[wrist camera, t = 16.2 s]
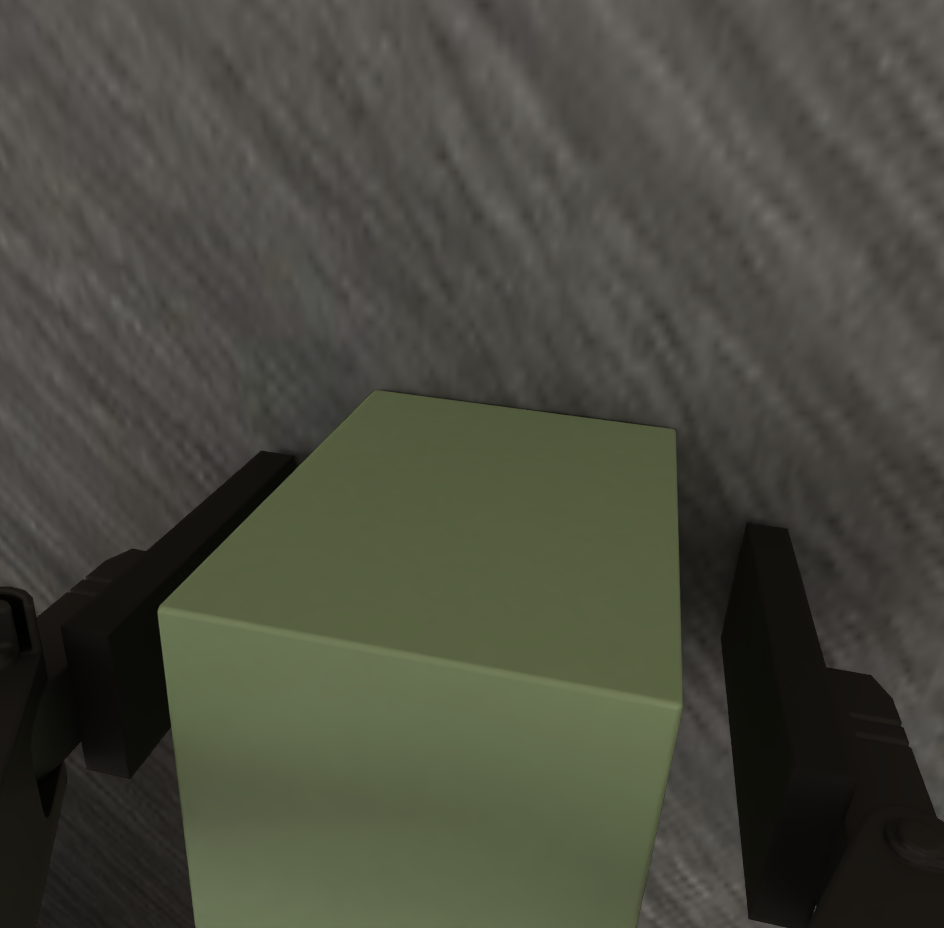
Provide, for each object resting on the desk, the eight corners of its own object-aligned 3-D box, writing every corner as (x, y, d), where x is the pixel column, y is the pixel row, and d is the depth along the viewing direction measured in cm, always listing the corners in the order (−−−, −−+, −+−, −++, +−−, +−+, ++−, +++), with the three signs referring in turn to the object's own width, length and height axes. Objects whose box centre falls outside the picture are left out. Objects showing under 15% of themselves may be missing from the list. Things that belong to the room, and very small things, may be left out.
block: (371, 632, 19) (195, 951, 12) (373, 388, 17) (154, 607, 10) (631, 680, 18) (609, 1058, 11) (676, 428, 16) (684, 706, 8)
